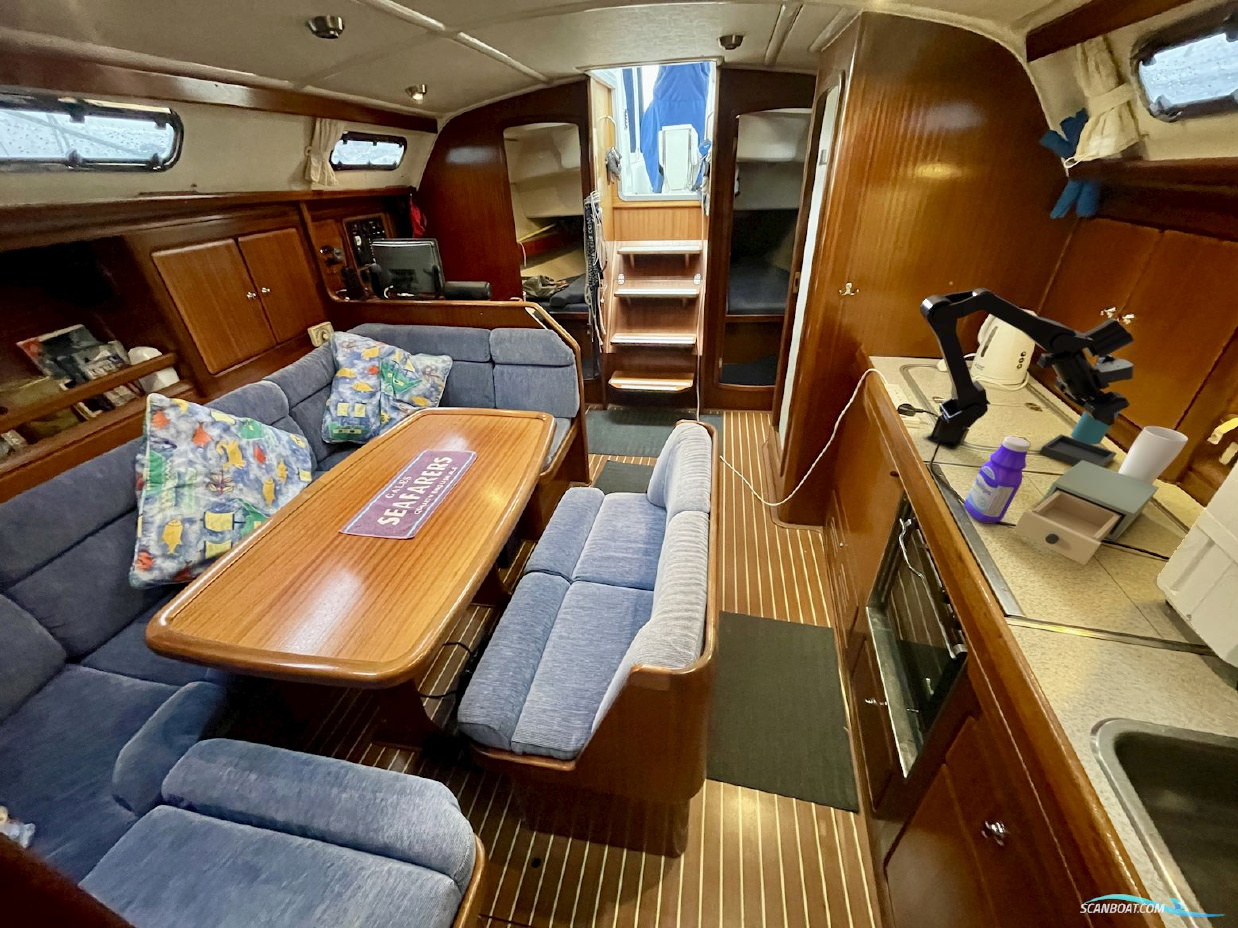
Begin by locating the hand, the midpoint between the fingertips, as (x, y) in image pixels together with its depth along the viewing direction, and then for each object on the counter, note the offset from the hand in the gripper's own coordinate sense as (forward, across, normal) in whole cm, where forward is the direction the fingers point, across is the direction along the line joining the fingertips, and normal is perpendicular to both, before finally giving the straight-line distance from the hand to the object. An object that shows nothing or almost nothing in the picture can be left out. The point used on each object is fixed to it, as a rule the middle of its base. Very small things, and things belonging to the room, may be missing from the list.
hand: (1104, 419), depth 114 cm
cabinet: (+1, -25, +14) cm, 29 cm away
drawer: (-7, -37, +21) cm, 43 cm away
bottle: (-15, -33, +31) cm, 47 cm away
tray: (+7, 0, +8) cm, 11 cm away
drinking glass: (+8, -15, +7) cm, 19 cm away
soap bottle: (+3, 0, +5) cm, 6 cm away
